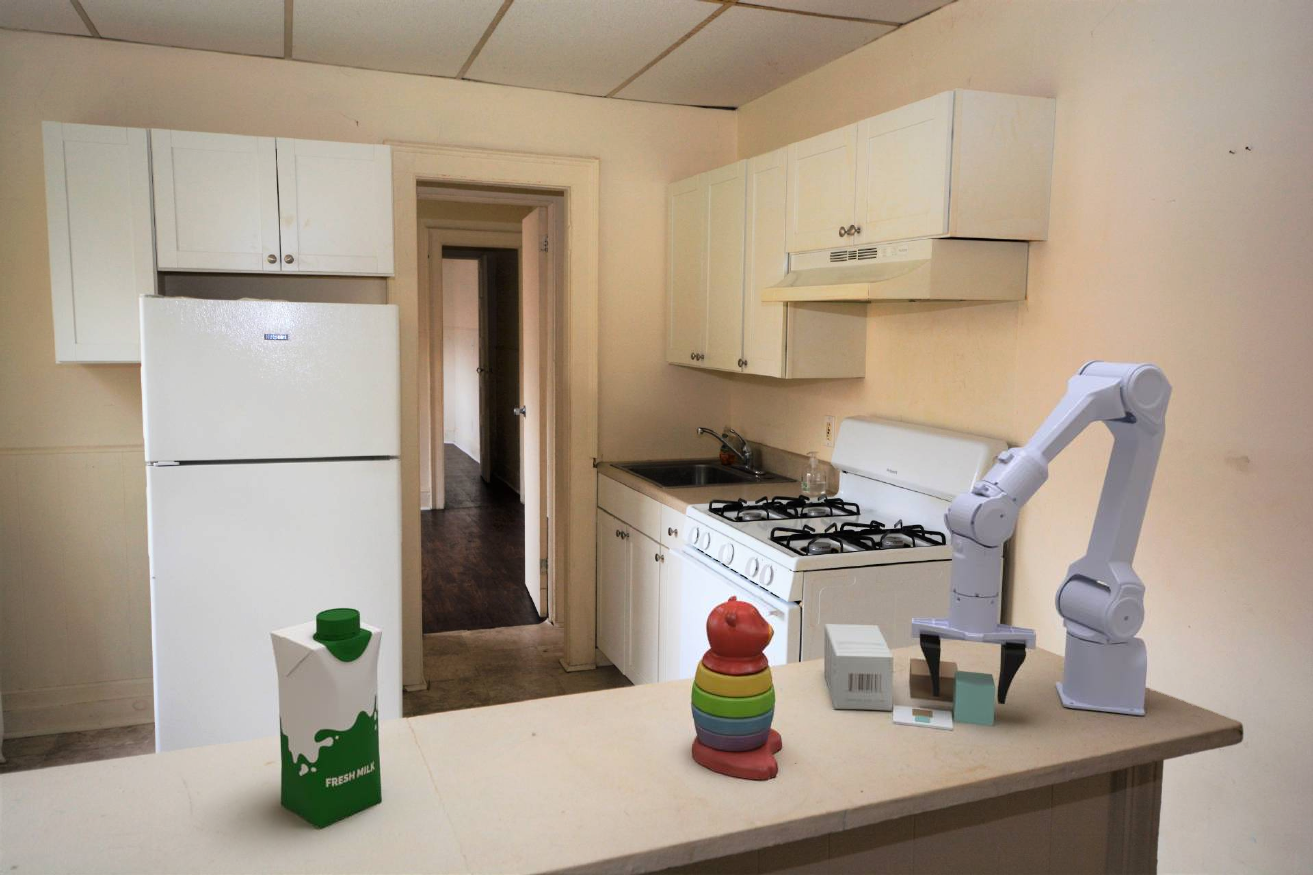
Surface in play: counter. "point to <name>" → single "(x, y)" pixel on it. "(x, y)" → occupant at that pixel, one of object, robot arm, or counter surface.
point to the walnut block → (923, 682)
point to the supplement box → (858, 667)
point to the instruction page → (922, 717)
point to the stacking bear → (735, 695)
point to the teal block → (973, 698)
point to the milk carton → (328, 716)
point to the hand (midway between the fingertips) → (968, 697)
